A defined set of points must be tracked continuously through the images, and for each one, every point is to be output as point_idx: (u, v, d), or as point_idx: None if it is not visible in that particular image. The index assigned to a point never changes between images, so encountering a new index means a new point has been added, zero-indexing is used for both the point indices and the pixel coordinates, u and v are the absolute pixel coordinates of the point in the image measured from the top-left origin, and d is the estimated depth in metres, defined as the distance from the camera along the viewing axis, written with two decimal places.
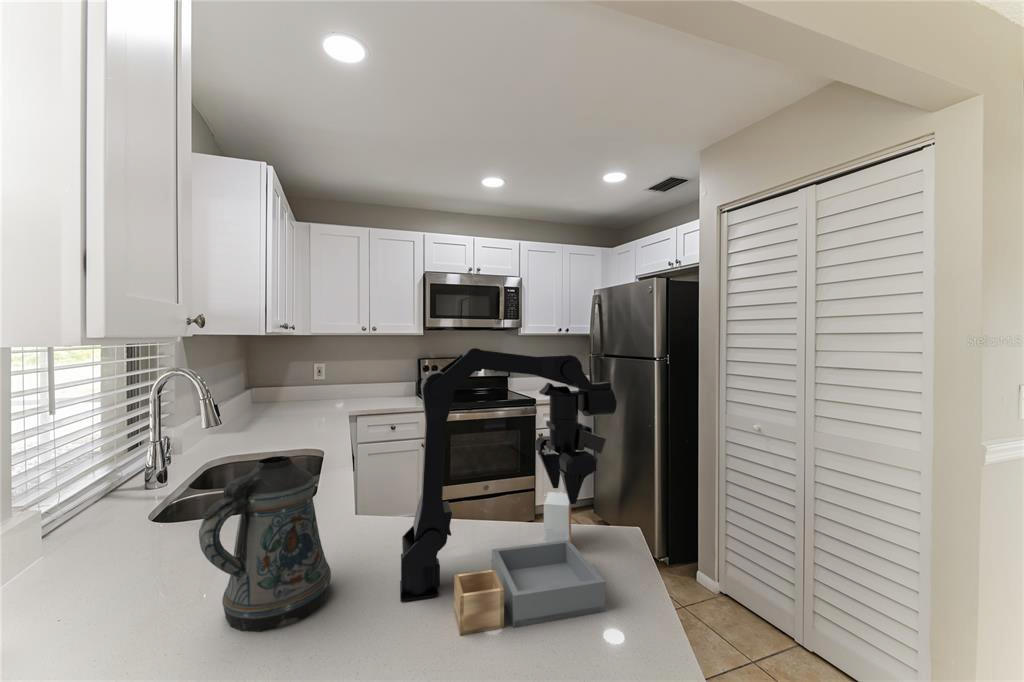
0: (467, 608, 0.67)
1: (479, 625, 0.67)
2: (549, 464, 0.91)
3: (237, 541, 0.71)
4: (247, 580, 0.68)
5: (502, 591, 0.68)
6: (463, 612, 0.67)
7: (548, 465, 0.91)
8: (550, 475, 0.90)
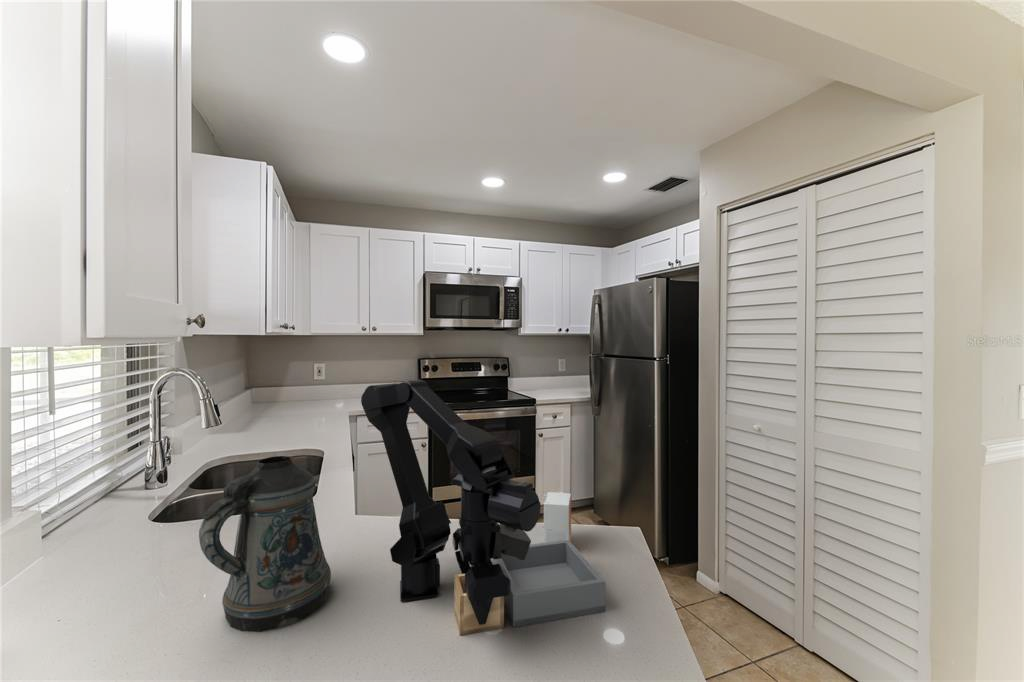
0: (467, 608, 0.67)
1: (479, 625, 0.67)
2: (467, 570, 0.74)
3: (237, 541, 0.71)
4: (247, 580, 0.68)
5: None
6: (463, 612, 0.67)
7: (465, 571, 0.74)
8: None
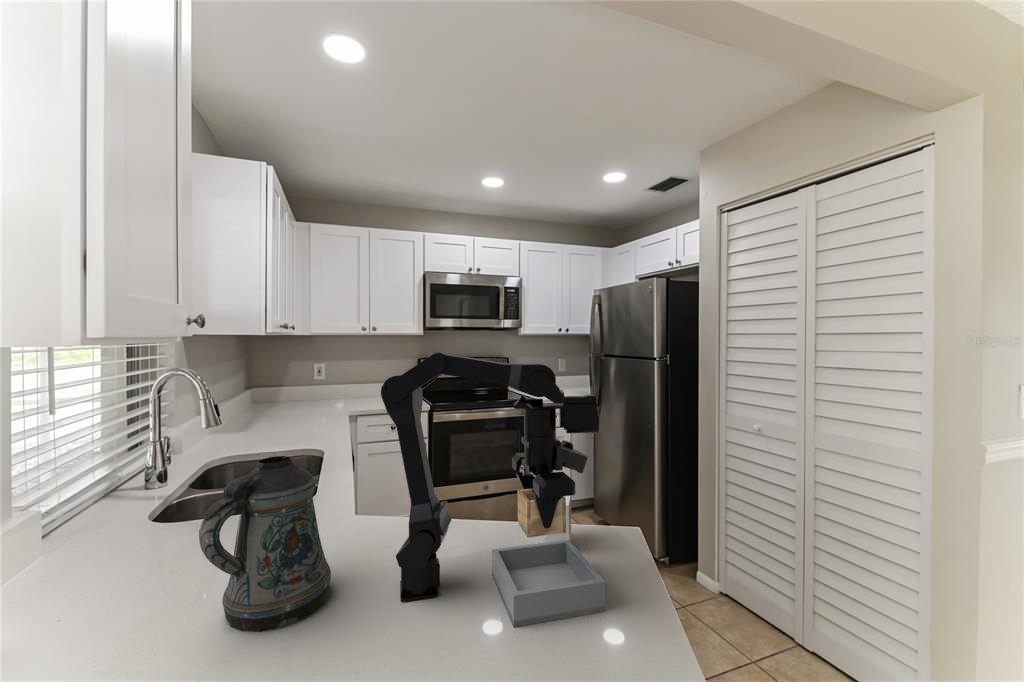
0: (533, 513, 0.74)
1: (544, 529, 0.74)
2: (528, 487, 0.81)
3: (237, 541, 0.71)
4: (247, 580, 0.68)
5: (564, 499, 0.75)
6: (530, 516, 0.74)
7: (527, 487, 0.81)
8: None
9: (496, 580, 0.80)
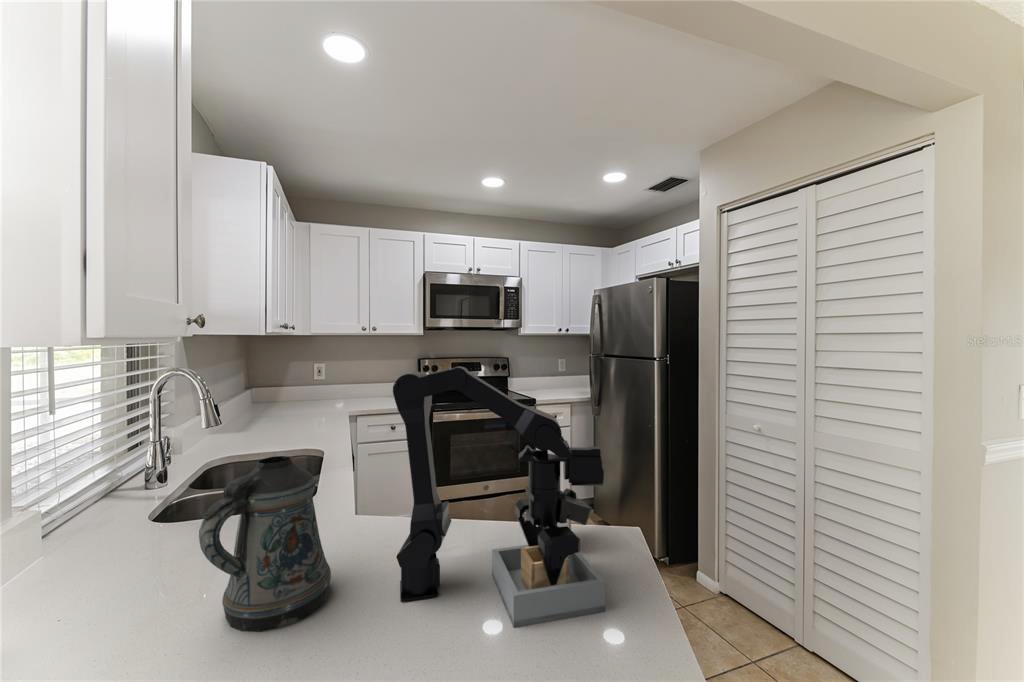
0: (537, 575, 0.74)
1: None
2: (529, 533, 0.83)
3: (237, 541, 0.71)
4: (247, 580, 0.68)
5: (568, 560, 0.76)
6: (534, 578, 0.74)
7: (528, 533, 0.83)
8: (530, 545, 0.82)
9: (496, 580, 0.80)
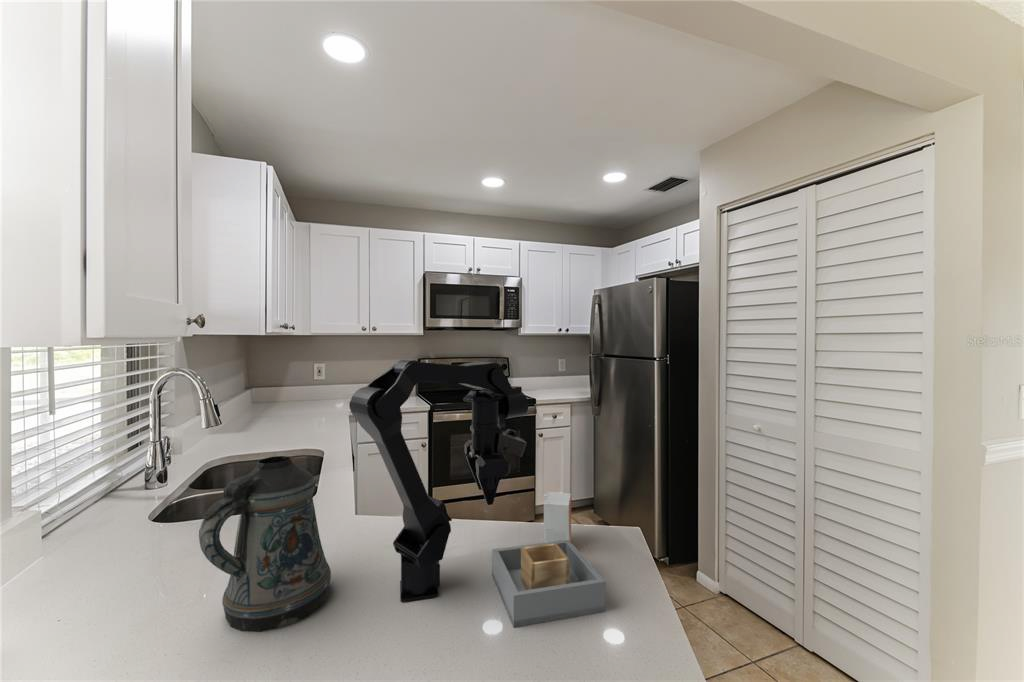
0: (537, 575, 0.74)
1: None
2: (475, 467, 0.95)
3: (237, 541, 0.71)
4: (247, 580, 0.68)
5: (568, 560, 0.76)
6: (534, 578, 0.74)
7: (474, 467, 0.95)
8: (476, 477, 0.94)
9: (496, 580, 0.80)
